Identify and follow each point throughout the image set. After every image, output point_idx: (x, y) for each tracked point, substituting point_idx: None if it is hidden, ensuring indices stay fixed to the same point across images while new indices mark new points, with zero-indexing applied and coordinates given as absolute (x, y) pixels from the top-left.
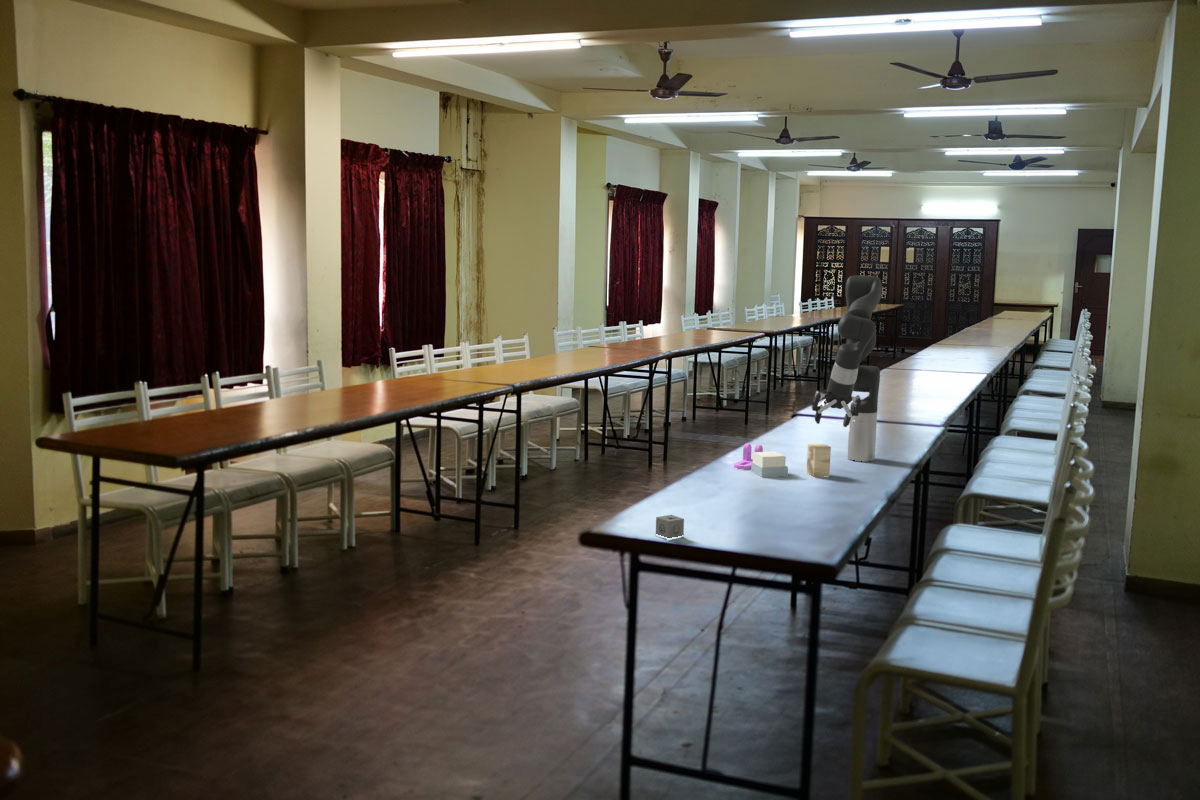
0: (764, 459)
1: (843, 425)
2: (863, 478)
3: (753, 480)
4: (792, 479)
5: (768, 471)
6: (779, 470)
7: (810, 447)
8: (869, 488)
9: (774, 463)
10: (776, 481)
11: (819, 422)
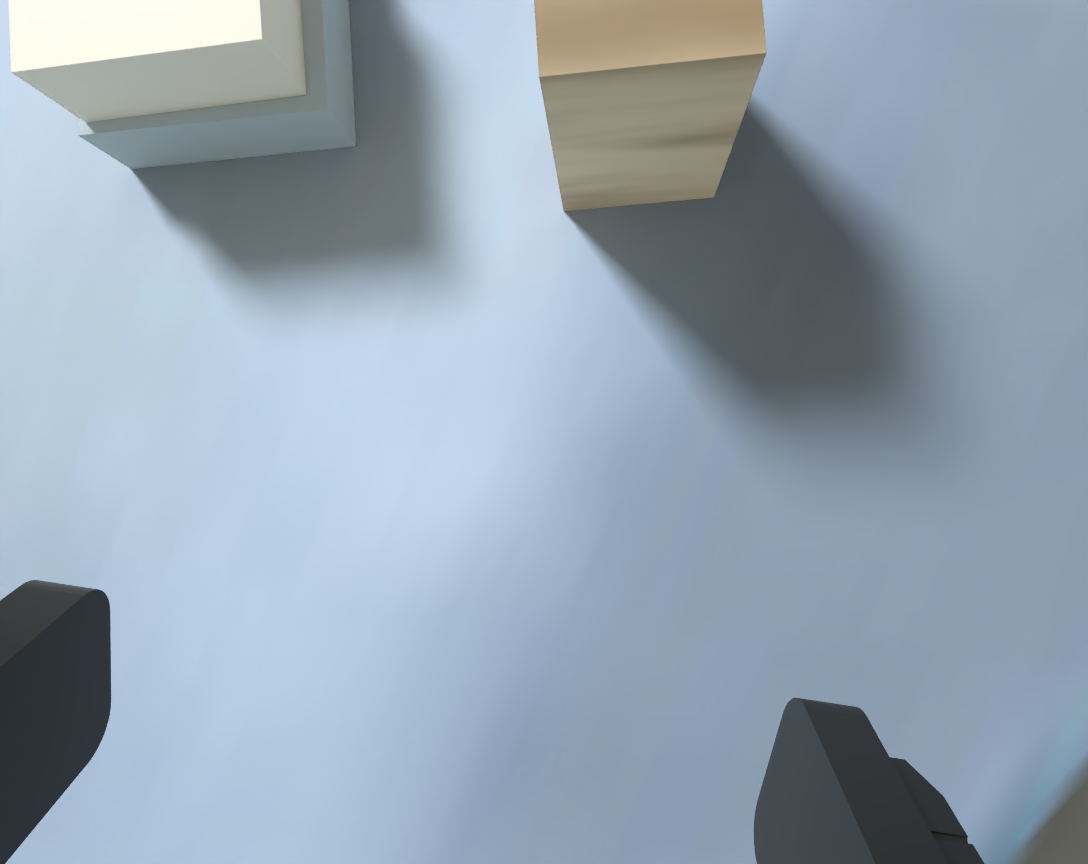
0: (50, 82)
1: (772, 753)
2: (1013, 278)
3: (26, 280)
4: (352, 268)
5: (160, 144)
6: (259, 130)
7: None
8: (899, 678)
9: (181, 90)
10: (194, 332)
11: (77, 771)
